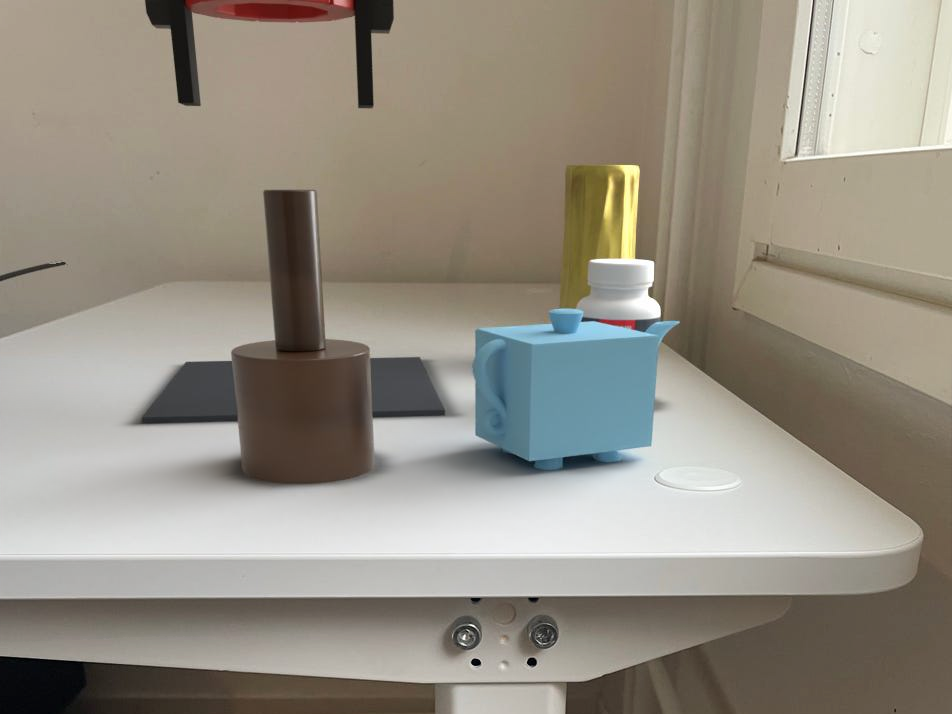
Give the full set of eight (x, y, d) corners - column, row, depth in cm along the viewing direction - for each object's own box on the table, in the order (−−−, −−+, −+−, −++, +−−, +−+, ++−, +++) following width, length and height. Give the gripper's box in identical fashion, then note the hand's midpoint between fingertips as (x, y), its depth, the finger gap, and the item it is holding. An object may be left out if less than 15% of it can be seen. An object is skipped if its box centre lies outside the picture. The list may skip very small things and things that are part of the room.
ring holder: (248, 456, 54) (222, 189, 49) (372, 452, 55) (361, 188, 50) (237, 490, 48) (207, 190, 43) (377, 485, 49) (364, 190, 44)
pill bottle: (589, 418, 63) (596, 265, 59) (559, 401, 67) (564, 258, 63) (667, 413, 64) (679, 263, 60) (633, 397, 69) (642, 256, 65)
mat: (186, 369, 78) (185, 361, 78) (420, 364, 81) (419, 356, 80) (142, 427, 60) (141, 417, 60) (445, 419, 62) (445, 409, 62)
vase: (593, 379, 75) (603, 164, 69) (536, 368, 79) (541, 165, 73) (649, 370, 78) (663, 165, 72) (592, 360, 82) (601, 165, 76)
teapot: (638, 433, 59) (647, 297, 56) (703, 457, 54) (716, 308, 51) (449, 455, 54) (448, 307, 51) (501, 483, 49) (503, 322, 46)
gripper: (-59, -589, 38) (46, 98, 48) (497, -542, 40) (491, 104, 50) (2, -475, 45) (83, 106, 54) (476, -440, 47) (473, 112, 57)
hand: (278, 105), depth 52 cm, fingers closed on ring, 8 cm apart
